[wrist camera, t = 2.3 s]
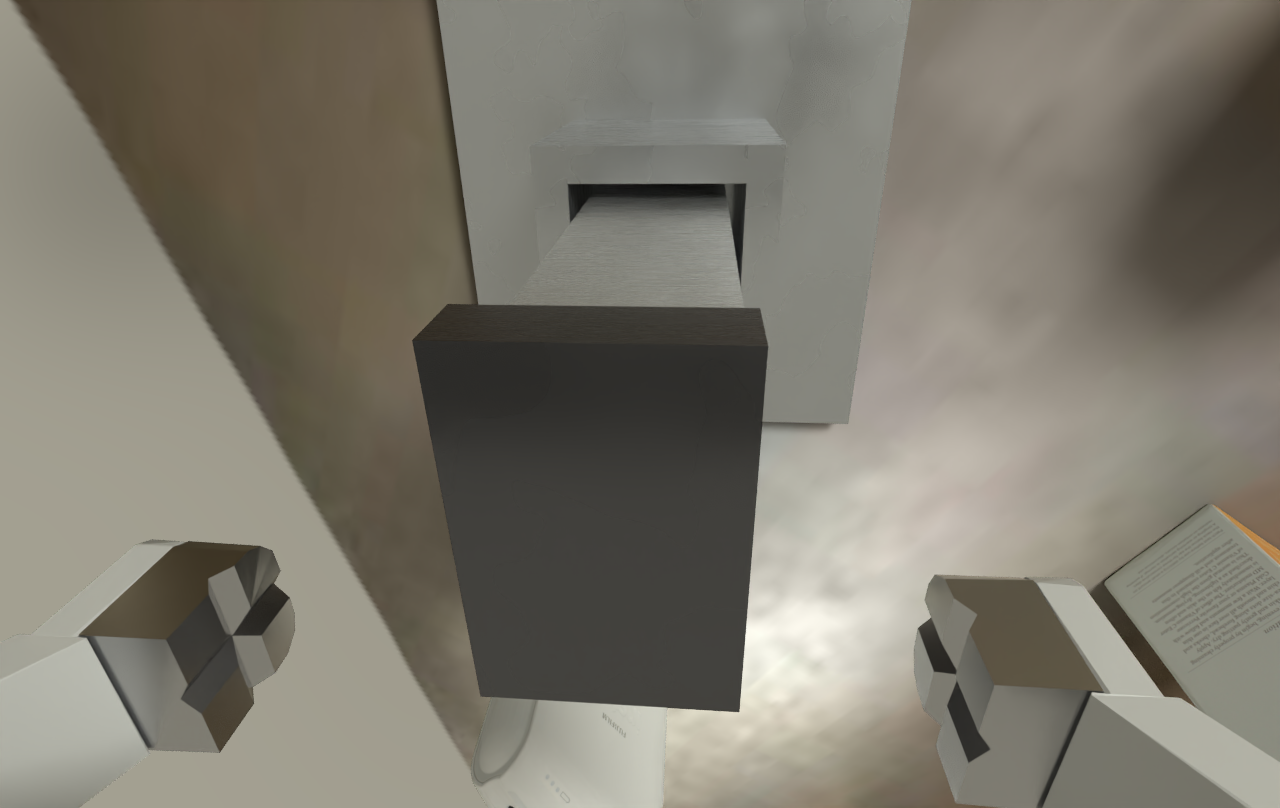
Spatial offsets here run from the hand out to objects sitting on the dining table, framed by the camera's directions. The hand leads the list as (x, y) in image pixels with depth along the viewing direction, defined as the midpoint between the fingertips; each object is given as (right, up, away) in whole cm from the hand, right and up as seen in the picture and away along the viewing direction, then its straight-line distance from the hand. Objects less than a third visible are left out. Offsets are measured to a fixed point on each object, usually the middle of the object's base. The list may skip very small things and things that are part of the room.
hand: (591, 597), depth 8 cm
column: (+2, +9, +17) cm, 20 cm away
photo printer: (-2, -11, +31) cm, 32 cm away
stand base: (+2, +10, +19) cm, 21 cm away
